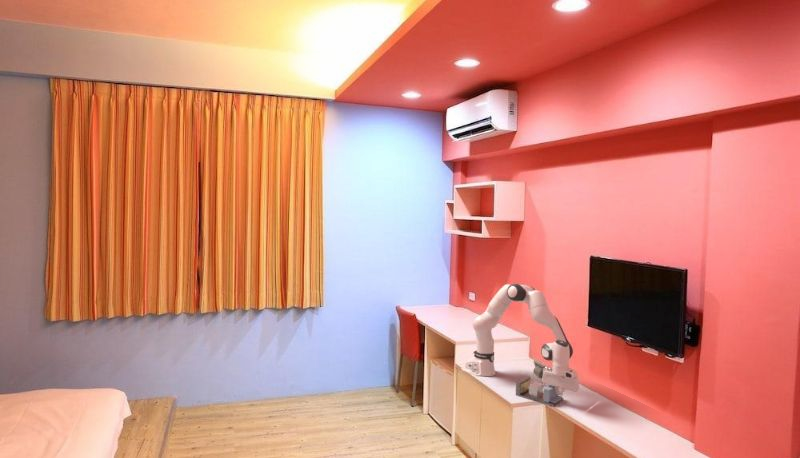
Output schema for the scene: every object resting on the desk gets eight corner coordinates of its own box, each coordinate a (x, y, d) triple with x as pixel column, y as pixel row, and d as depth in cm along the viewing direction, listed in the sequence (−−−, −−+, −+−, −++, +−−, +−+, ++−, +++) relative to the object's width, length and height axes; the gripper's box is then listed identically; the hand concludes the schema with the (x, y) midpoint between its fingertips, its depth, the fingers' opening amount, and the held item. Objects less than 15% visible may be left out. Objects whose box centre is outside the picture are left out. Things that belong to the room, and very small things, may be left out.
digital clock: (549, 380, 313) (550, 365, 313) (537, 379, 313) (538, 365, 313) (543, 372, 327) (543, 359, 327) (531, 372, 327) (532, 359, 327)
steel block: (528, 395, 282) (529, 385, 282) (535, 392, 288) (535, 381, 288) (537, 397, 279) (537, 387, 279) (543, 394, 285) (543, 383, 285)
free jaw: (542, 400, 274) (543, 388, 274) (552, 394, 283) (552, 382, 283) (554, 404, 270) (554, 391, 269) (563, 397, 279) (563, 385, 279)
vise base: (515, 395, 285) (516, 381, 284) (526, 389, 294) (526, 376, 294) (553, 406, 270) (554, 391, 269) (563, 400, 279) (563, 385, 279)
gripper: (540, 367, 278) (539, 391, 278) (576, 376, 264) (575, 401, 265) (545, 365, 283) (544, 388, 283) (580, 373, 269) (579, 398, 270)
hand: (559, 395), depth 274 cm, fingers closed
